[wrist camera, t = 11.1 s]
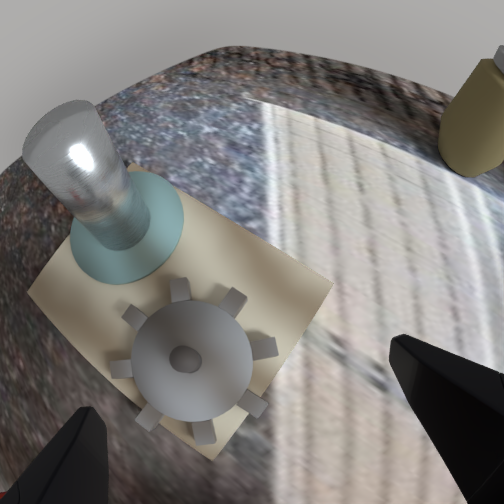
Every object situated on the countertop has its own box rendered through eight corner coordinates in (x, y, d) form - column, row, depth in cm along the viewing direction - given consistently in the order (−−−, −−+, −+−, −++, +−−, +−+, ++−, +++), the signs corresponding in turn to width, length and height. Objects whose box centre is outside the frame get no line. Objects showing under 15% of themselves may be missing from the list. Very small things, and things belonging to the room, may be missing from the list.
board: (216, 468, 18) (208, 486, 14) (24, 293, 23) (-5, 279, 19) (337, 291, 23) (353, 273, 19) (129, 164, 28) (114, 135, 24)
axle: (135, 258, 23) (63, 172, 13) (87, 242, 23) (9, 162, 13) (160, 203, 25) (112, 100, 14) (111, 192, 25) (53, 99, 15)
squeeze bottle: (494, 167, 28) (573, 60, 12) (470, 200, 26) (572, 75, 10) (446, 120, 31) (506, 3, 14) (415, 145, 29) (485, 2, 12)
